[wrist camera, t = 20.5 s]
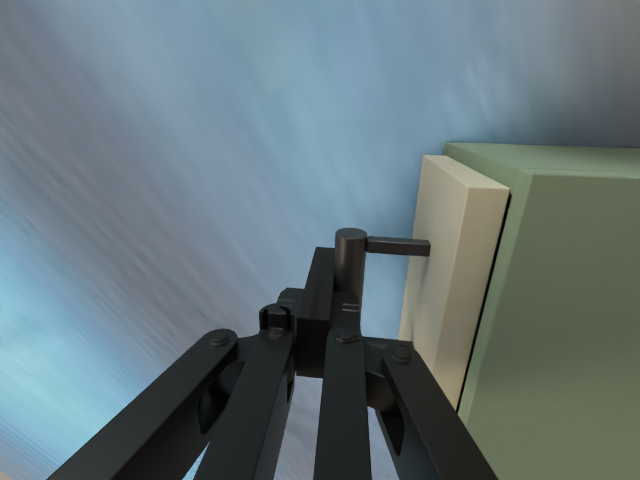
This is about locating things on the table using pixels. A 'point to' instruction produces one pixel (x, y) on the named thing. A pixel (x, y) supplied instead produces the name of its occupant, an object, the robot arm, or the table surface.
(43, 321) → the table surface
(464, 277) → the drawer
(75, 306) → the table surface
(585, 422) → the cabinet
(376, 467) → the table surface
